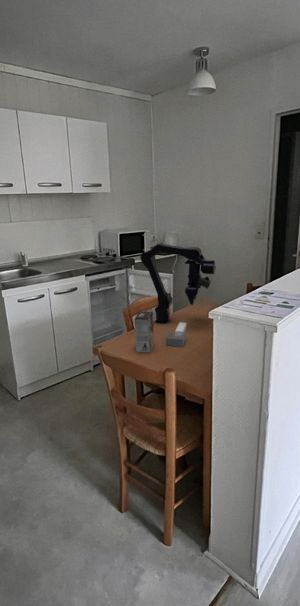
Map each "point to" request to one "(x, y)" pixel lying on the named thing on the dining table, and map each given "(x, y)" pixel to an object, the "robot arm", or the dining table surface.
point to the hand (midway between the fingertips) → (193, 302)
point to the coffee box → (144, 331)
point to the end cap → (175, 340)
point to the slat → (180, 329)
